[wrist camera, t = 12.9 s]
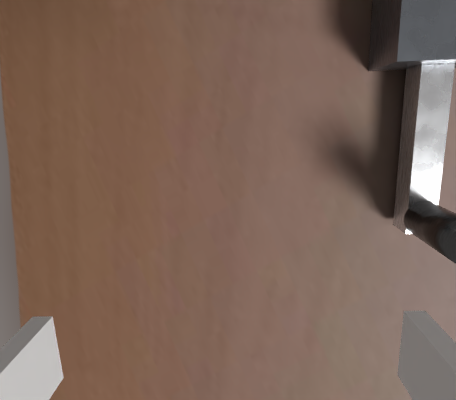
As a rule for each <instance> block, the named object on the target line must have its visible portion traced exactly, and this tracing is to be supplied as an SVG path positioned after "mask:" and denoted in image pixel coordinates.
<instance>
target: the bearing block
mask: <svg viewBox="0 0 456 400" xmlns="http://www.w3.org/2000/svg"><path fill="white" fill-rule="evenodd" d="M437 63H455V67H454V68H456V0H372V17H371V34H370V50H369V67H368V71H381V70H406V68H408V67H411V66H415V65H419V64H437Z"/></svg>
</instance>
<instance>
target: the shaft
mask: <svg viewBox="0 0 456 400" xmlns="http://www.w3.org/2000/svg"><path fill="white" fill-rule="evenodd" d="M454 67H455V63H437V64H419V65H415V66H411V67H408V68H406V80H405V91H404V103H403V115H402V127H401V138H400V150H399V162H398V174H397V185H396V197H395V209H394V221H393V225H394V226H395V227H397V228H398V229H400V230H401V231H402V232H404V233H405V234H413V235H415V236H416V237H418V238H419V239H421V240H422V241H424V242H425V243H427V244H428V245H429V246H431V247H432V248H434V249H435V250H437V251H438V252H440V253H441V254H442V255H444V256H445V257H447V258H448V259H450V260H451V261H453V262H454V263H456V213H453V212H451V211H449V210H447V209H445V208H443V207H440V206H438V204H439V196H440V187H441V179H442V170H443V162H444V153H445V144H446V136H447V127H448V119H449V110H450V102H451V93H452V84H453V76H454Z"/></svg>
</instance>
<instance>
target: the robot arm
mask: <svg viewBox="0 0 456 400" xmlns="http://www.w3.org/2000/svg"><path fill="white" fill-rule="evenodd" d="M398 376H399V378H400V380H401V381H402V383H403V385H404V386H405V388H406V389H407V391H408V393H409V394H410V396H411V398H412V399H413V400H456V343H455V342H454V341H453V340H452V338H451V337H450V336H449V335H448V334H447V333H446V332H445V331H444V330H443V329H442V328H441V327H440V326H439V325H438V324H437V323H436V322H435V321H434V320H433V318H432V317H431V316H430V315H429V314H428V313H427V312H426V311H404V315H403V325H402V335H401V345H400V355H399V365H398ZM62 379H63V373H62V367H61V361H60V356H59V350H58V345H57V339H56V333H55V328H54V322H53V317H32V318H31V319H30V320H29V321H28V322H27V323H26V324H25V325H24V326H23V327H22V328H21V329H20V330H19V331H18V332H17V333H16V334H15V335H14V336H13V337H12V338H11V339H10V340H9V341H8V342H7V343H6V344H5V345H4V346H3V347H2V348H1V349H0V400H49V399H50V397H51V396H52V394H53V393H54V391H55V390H56V388H57V387H58V385H59V384H60V382H61V381H62Z"/></svg>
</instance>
